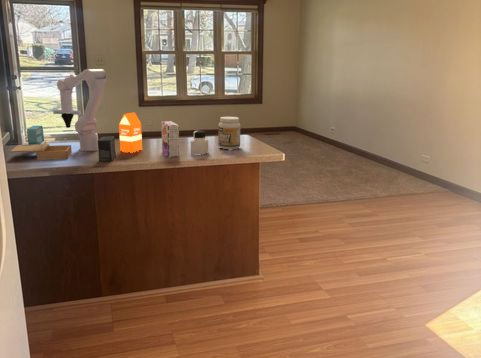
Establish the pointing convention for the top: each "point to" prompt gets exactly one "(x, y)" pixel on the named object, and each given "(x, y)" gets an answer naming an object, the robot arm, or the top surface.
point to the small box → (106, 149)
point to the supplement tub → (229, 133)
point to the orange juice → (130, 133)
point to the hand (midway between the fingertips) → (68, 127)
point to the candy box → (170, 138)
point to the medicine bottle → (199, 143)
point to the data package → (35, 135)
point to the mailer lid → (31, 148)
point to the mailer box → (55, 152)
